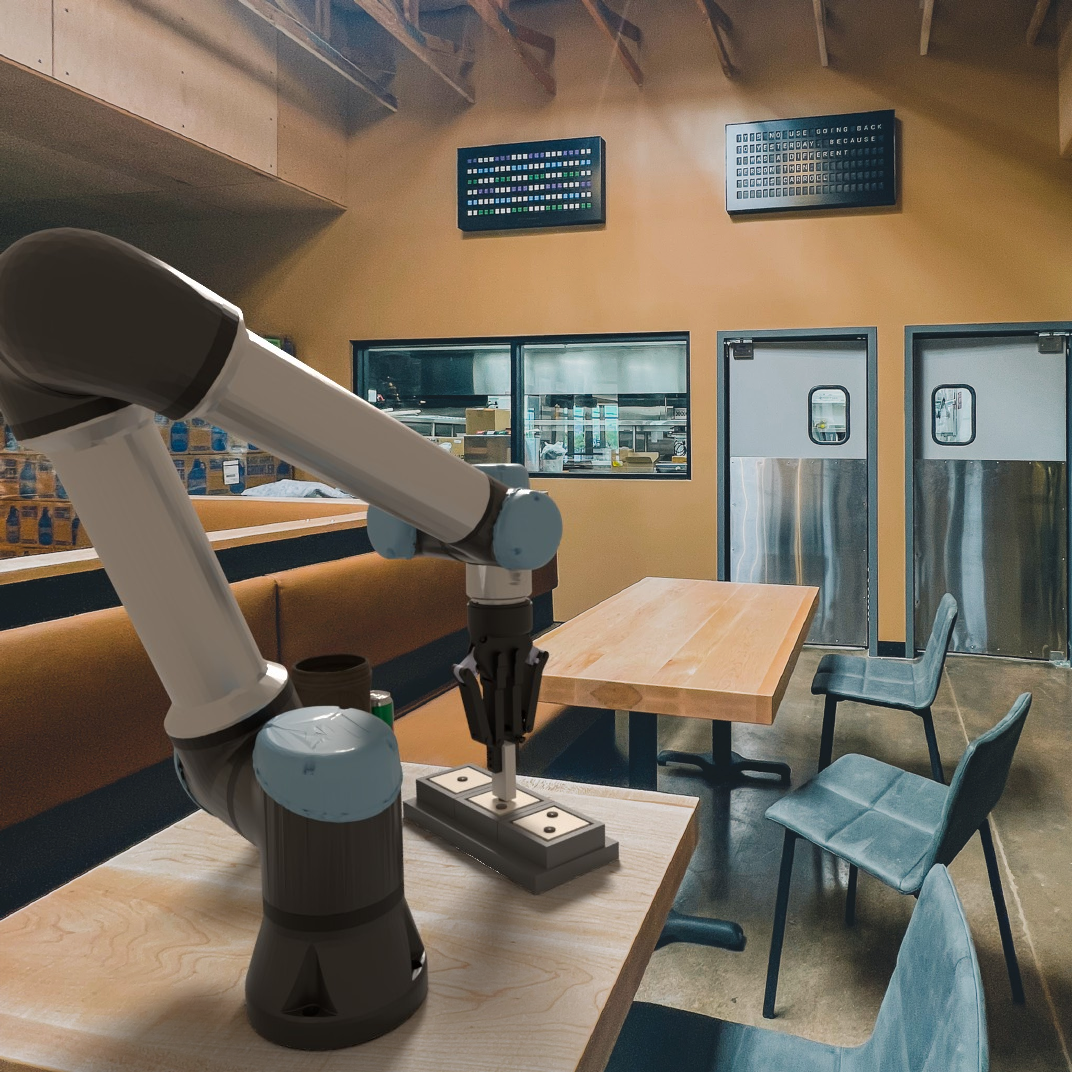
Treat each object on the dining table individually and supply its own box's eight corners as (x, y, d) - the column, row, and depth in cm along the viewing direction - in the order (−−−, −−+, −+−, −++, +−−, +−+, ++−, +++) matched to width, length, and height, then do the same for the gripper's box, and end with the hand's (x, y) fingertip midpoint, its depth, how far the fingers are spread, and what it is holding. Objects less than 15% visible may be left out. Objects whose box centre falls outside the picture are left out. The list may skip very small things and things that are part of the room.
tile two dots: (548, 862, 95) (547, 838, 95) (513, 843, 100) (512, 820, 99) (589, 845, 99) (589, 822, 98) (554, 827, 103) (553, 805, 103)
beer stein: (354, 787, 122) (339, 645, 119) (402, 809, 114) (387, 657, 111) (249, 830, 111) (230, 675, 108) (294, 857, 104) (274, 691, 101)
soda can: (379, 769, 128) (376, 687, 127) (403, 777, 125) (400, 693, 124) (351, 780, 125) (348, 695, 123) (375, 788, 121) (372, 702, 120)
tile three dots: (499, 835, 101) (499, 813, 101) (468, 819, 106) (468, 797, 106) (540, 820, 105) (539, 798, 105) (508, 805, 110) (508, 784, 110)
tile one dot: (456, 812, 108) (456, 791, 108) (429, 798, 113) (429, 777, 112) (496, 799, 112) (496, 779, 111) (468, 785, 116) (468, 766, 116)
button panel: (535, 895, 92) (535, 853, 92) (403, 816, 112) (402, 781, 112) (618, 859, 100) (618, 820, 99) (481, 791, 120) (480, 758, 119)
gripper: (472, 610, 96) (478, 822, 98) (563, 595, 104) (566, 790, 107) (433, 601, 102) (440, 801, 104) (523, 587, 110) (527, 773, 112)
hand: (504, 796), depth 105 cm, fingers closed
